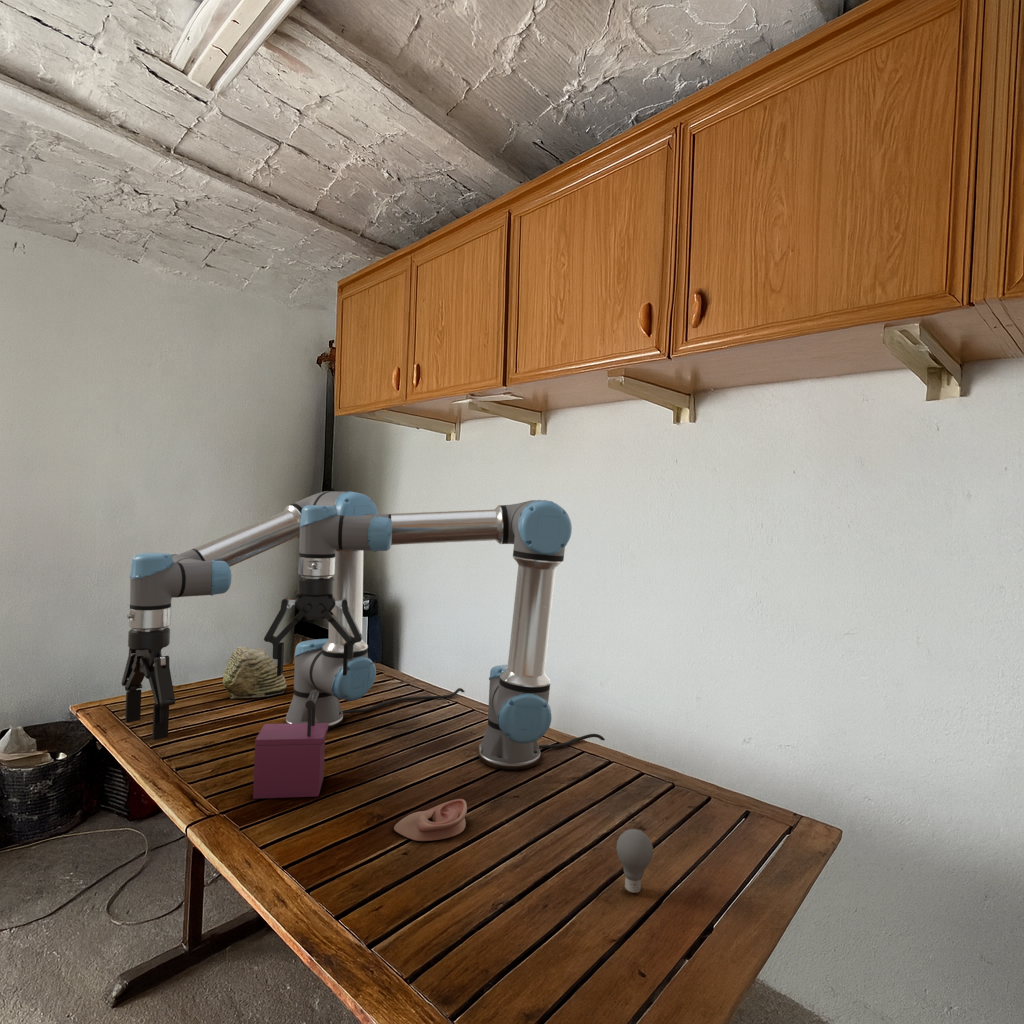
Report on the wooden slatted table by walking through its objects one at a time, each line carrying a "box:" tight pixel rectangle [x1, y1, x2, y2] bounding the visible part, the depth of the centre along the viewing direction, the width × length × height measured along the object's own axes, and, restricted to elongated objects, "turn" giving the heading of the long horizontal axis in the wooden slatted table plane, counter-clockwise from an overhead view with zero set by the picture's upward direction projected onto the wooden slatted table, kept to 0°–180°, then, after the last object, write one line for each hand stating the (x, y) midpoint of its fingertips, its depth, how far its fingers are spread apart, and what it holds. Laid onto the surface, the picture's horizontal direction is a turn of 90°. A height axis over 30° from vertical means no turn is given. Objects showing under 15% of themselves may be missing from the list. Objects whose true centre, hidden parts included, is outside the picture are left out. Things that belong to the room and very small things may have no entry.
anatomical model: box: [393, 798, 468, 842], centre depth 123 cm, size 13×4×12 cm
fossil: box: [222, 646, 288, 699], centre depth 198 cm, size 9×18×15 cm, turn 132°
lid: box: [254, 690, 329, 746], centre depth 137 cm, size 14×9×9 cm
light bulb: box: [615, 828, 654, 894], centre depth 106 cm, size 6×6×10 cm
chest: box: [252, 739, 326, 800], centre depth 137 cm, size 13×9×11 cm
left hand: (146, 729), depth 132 cm, fingers open, 13 cm apart
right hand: (312, 674), depth 137 cm, fingers open, 13 cm apart
